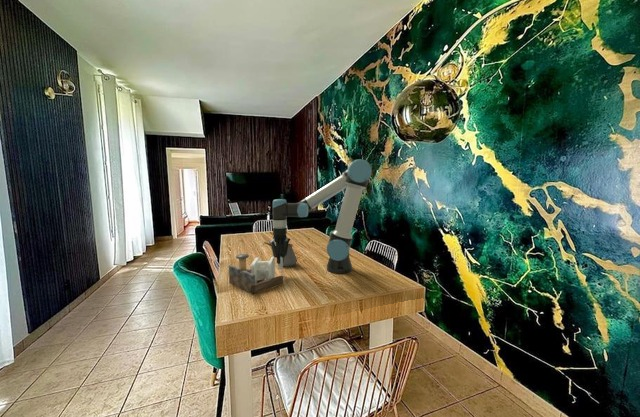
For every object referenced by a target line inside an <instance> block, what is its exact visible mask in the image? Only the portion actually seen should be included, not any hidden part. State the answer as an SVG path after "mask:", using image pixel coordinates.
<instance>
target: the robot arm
mask: <svg viewBox="0 0 640 417" xmlns="http://www.w3.org/2000/svg"><path fill="white" fill-rule="evenodd" d="M372 171H373V169H372V166H371V164H370V163H369V162H368V161H366V159H360V158H359V159H354V160H352V161H351V162H350V164H349V165H348V167H347V169H346V170H345V171H343V172H342V173H341V175H339V176H338V177H336V178H335V179H334V180H332V181H330V182H329V183H327V184H326V185H324V186H322V187H321V188H320V189H317V190H316V191H315V192H313V193H312V194H310V195H308V196H307V197H305V198H303V199H302V200H300V201H299V202H287V199H281V198H277V199H273V201H272V234H273V235H272V236H273V237H272V240H269V244H271V246H270V247H271V251H272V255H273V256H272V257H275V258H276V264H277V269H278V270H284V266H283V262H284V257H285V256H286V255H287V250H288V244H290V241H291V238H289V237H287V234H288V232H287V231H288V230H287V228H288V226H287V225H288V222H287V220H288V219H287V218H289V217H291V218H307V217H308V216H309V212H310V211H312V210H313V209H314V208H316V207H318V206H319V205H321V204H323V203H324V202H325V201H327V200H329V199H331V198H332V197H334V196H336V195H337V194H339V193H340V192H341V191H343V190H345V192H344V195H343V198H342V199H343V200H342V202H341V207H340V209H339V214H338V216H337V217H338V218H337V221H336V226H335V227H334V228H335V229H334V230H332V231H330V232H329V240H328V244H326V253H327V255H328V260H327V265H326V270H327V271H328V272H329V273H333V274H348V273H351V272H352V271H353V265H352V261H351V258H350V248H351V244H352V241H353V236H352V231H353V226H354V223H355V219H356V215H357V212H358V209H359V206H360V201H361V197H362V194H363V191H364V190H367V187H368V184H369V180H370V177H371V176H372Z"/></svg>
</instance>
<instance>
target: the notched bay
mask: <svg viewBox="0 0 640 417" xmlns="http://www.w3.org/2000/svg"><path fill="white" fill-rule="evenodd" d="M228 279H229V283H230V284H231V285H233V286H235V287H237V288H240V289H241V290H243V291H245V292H247V293H249V294H251V295H255V294H258V293H261V292H263V291H266V290H270V289H272V288H276V287H279V286H281V285H283V284H284V276H283V275H282V274H281V275H278V276H274V278H272V279H269V280H266V279H264V280H262V281H259V282H257V283H256V284H255V275H254V274H252V273H251V269H250V268H249V270H246V271H242V272H241V271H240V268H239V266H238V267H237V266H235V265H232V264H231V265H228Z"/></svg>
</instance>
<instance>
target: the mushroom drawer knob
mask: <svg viewBox="0 0 640 417" xmlns="http://www.w3.org/2000/svg"><path fill="white" fill-rule="evenodd" d="M248 258H249V253H248V254H247V253H243V254H242V253H239V254H237V255H235V259H237V260H238V268H240V271H241V272H242V271H246V270H250V268H249V269H248V268H247V259H248Z"/></svg>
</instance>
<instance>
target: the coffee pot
mask: <svg viewBox="0 0 640 417" xmlns="http://www.w3.org/2000/svg"><path fill="white" fill-rule="evenodd" d="M264 244H265V245H268V246H270V247H271V244H270V243H268V242H266V241H263V244H262V245H263V246H264ZM293 246H294V244H293V243H289V244H288V250H287V255H286V256H285V257H284V262H283V267H286V268H287V267H293V265H294V266H295V265H296V264H297V262H298V259H297V256H296V254H295V251H294V250H293Z"/></svg>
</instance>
